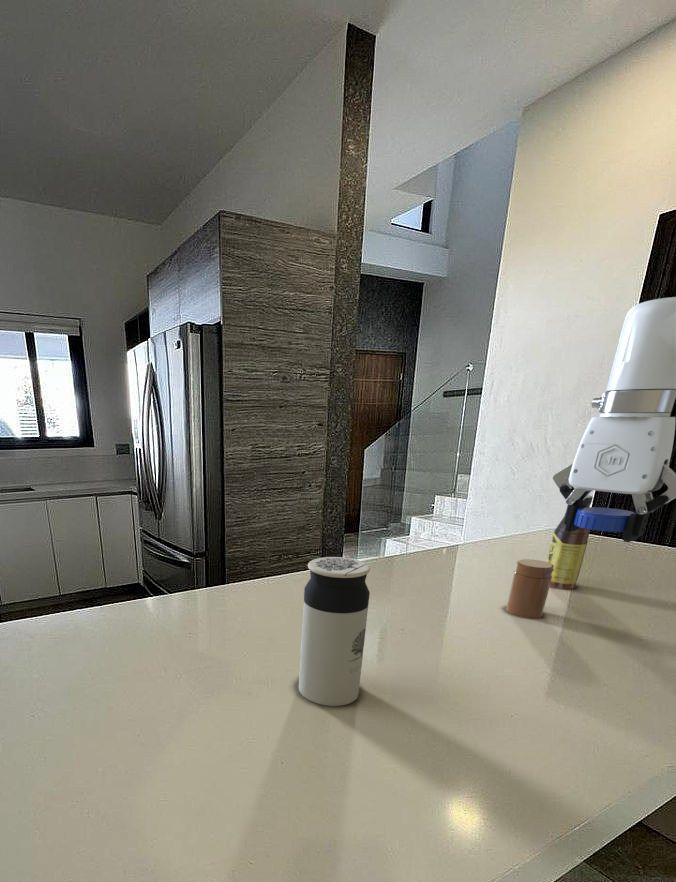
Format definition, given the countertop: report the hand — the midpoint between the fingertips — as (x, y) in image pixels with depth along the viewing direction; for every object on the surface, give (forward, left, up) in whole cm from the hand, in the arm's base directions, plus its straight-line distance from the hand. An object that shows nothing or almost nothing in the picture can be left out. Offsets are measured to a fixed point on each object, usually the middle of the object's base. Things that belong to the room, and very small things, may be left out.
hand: (599, 534), depth 71 cm
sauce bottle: (-8, -33, -19) cm, 39 cm away
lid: (0, 0, +3) cm, 3 cm away
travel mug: (+35, +26, -19) cm, 48 cm away
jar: (+3, -13, -19) cm, 23 cm away
